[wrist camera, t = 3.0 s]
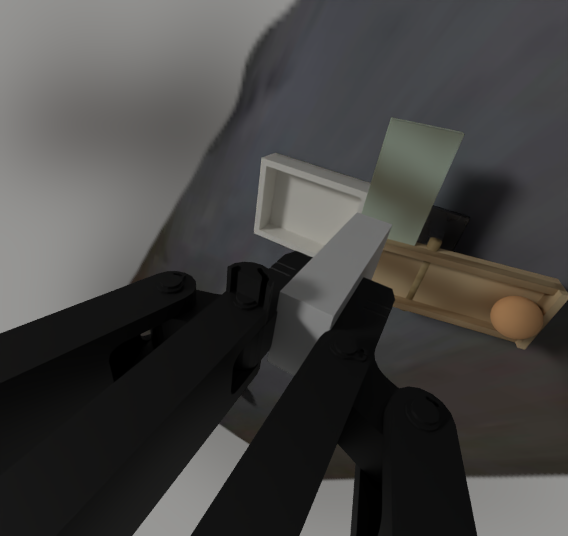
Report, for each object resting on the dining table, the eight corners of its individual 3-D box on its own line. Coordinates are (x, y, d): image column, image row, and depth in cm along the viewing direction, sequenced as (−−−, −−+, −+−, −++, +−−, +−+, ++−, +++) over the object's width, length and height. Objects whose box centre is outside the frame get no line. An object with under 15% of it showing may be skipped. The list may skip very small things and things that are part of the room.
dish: (275, 152, 37) (261, 157, 35) (378, 185, 33) (370, 193, 31) (266, 224, 43) (253, 232, 40) (354, 260, 38) (345, 272, 36)
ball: (499, 282, 27) (510, 308, 24) (544, 294, 26) (561, 323, 23) (478, 312, 29) (486, 340, 26) (520, 325, 28) (533, 354, 25)
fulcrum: (426, 203, 32) (417, 220, 28) (470, 217, 30) (466, 237, 26) (395, 276, 37) (383, 298, 33) (430, 290, 35) (423, 316, 32)
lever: (391, 117, 23) (390, 122, 21) (644, 169, 21) (670, 181, 19) (338, 285, 33) (334, 300, 31) (510, 335, 30) (519, 355, 28)
